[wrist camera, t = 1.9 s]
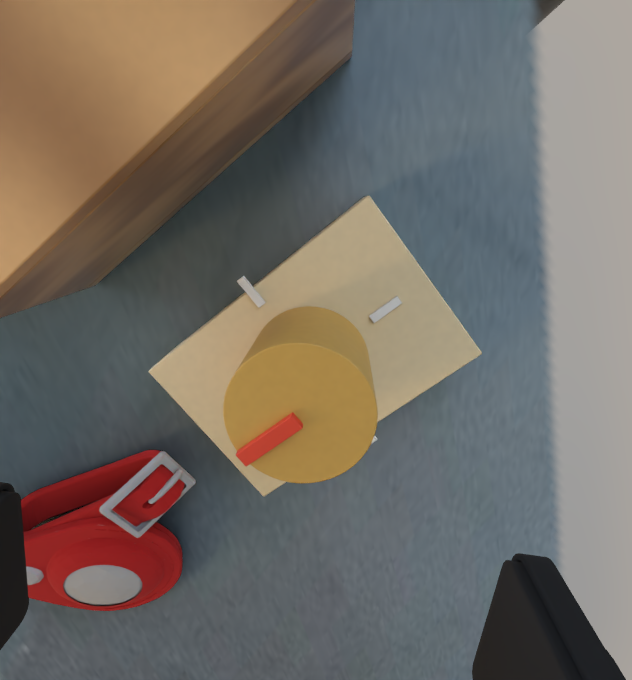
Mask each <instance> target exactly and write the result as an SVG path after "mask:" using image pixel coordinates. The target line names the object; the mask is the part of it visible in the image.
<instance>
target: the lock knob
mask: <svg viewBox="0 0 632 680" xmlns="http://www.w3.org/2000/svg"><path fill="white" fill-rule="evenodd" d="M223 417H224V424H225V427H226V431H227V434H228V436H229V438H230V440H231V442H232V444H233V446H234V447H235V449H236V450H237V453H236V456H237V457H238V459H239V460H240V461H241V462H242V463H243V464H244V465H245V466H248V465H251V466H253V467H254V468H255V469H257V470H258V471H260V472H262V473H264V474H266V475H268V476H270V477H272V478H275V479H278V480H281V481H286V482H291V483H315V482H321V481H325V480H328V479H331V478H334V477H336V476H338V475H340V474H342V473H344V472H346V471H347V470H349V469H350V468H351V467H353V466H354V465H355V464H356V463H357V462H358V461H359V460H360V459H361V458H362V457H363V455H364V454H365V453H366V452H367V450H368V448H369V447H370V445H371V443H372V440H373V438H374V436H375V432H376V428H377V420H378V411H377V403H376V397H375V391H374V384H373V378H372V372H371V366H370V360H369V354H368V349H367V346H366V343H365V341H364V339H363V337H362V335H361V334H360V332H359V331H358V329H357V328H356V327H355V326H354V325H353V324H352V323H351V322H350V321H349V320H347V319H346V318H345V317H343V316H342V315H340V314H338V313H336V312H334V311H331V310H328V309H325V308H320V307H311V306H307V307H298V308H293V309H290V310H287V311H285V312H283V313H281V314H279V315H277V316H276V317H274V318H273V319H272V320H271V321H270V322H268V323H267V324H266V326H265V327H264V328H263V329H262V331H261V332H260V334H259V335H258V337H257V338H256V340H255V342H254V343H253V345H252V346H251V348H250V350H249V351H248V353H247V354H246V356H245V358H244V359H243V361H242V362H241V364H240V365H239V367H238V369H237V370H236V372H235V373H234V375H233V377H232V378H231V380H230V382H229V384H228V387H227V389H226V393H225V396H224V403H223Z"/></svg>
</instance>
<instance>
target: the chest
mask: <svg viewBox="0 0 632 680" xmlns="http://www.w3.org/2000/svg"><path fill="white" fill-rule="evenodd" d="M354 11H355V0H313V1H312V2H311V3H309V4H308V5H307V6H306V7H305V8H304V9H303V10H302V11H301V12H300V13H299V14H298V15H297V16H296V17H295V18H294V19H293V20H292V21H291V22H289V23H288V24H287V25H286V26H285V27H284V28H283V29H282V30H281V31H280V32H279V33H278V34H277V35H276V36H275V37H274V38H273V39H272V40H271V41H269V42H268V43H267V44H266V45H265V46H264V47H263V48H262V49H261V50H260V51H259V52H258V53H257V54H256V55H255V56H254V57H253V58H252V59H251V60H250V61H248V62H247V63H246V64H245V65H244V66H243V67H242V68H241V69H240V70H239V71H238V72H237V73H236V74H235V75H234V76H233V77H232V78H231V79H230V80H228V81H227V82H226V83H225V84H224V85H223V86H222V87H221V88H220V89H219V90H218V91H217V92H216V93H215V94H214V95H213V96H212V97H211V98H210V99H208V100H207V101H206V102H205V103H204V104H203V105H202V106H201V107H200V108H199V109H198V110H197V111H196V112H195V113H194V114H193V115H192V116H191V117H190V118H188V119H187V120H186V121H185V122H184V123H183V124H182V125H181V126H180V127H179V128H178V129H177V130H176V131H175V132H174V133H173V134H172V135H171V136H170V137H168V138H167V139H166V140H165V141H164V142H163V143H162V144H161V145H160V146H159V147H158V148H157V149H156V150H155V151H154V152H153V153H152V154H151V155H150V156H148V157H147V158H146V159H145V160H144V161H143V162H142V163H141V164H140V165H139V166H138V167H137V168H136V169H135V170H134V171H133V172H132V173H131V174H130V175H128V176H127V177H126V178H125V179H124V180H123V181H122V182H121V183H120V184H119V185H118V186H117V187H116V188H115V189H114V190H113V191H112V192H111V193H110V194H109V195H107V196H106V197H105V198H104V199H103V200H102V201H101V202H100V203H99V204H98V205H97V206H96V207H95V208H94V209H93V210H92V211H91V212H90V213H89V214H87V215H86V216H85V217H84V218H83V219H82V220H81V221H80V222H79V223H78V224H77V225H76V226H75V227H74V228H73V229H72V230H71V231H70V232H69V233H67V234H66V235H65V236H64V237H63V238H62V239H61V240H60V241H59V242H58V243H57V244H56V245H55V246H54V247H53V248H52V249H51V250H50V251H49V252H47V253H46V254H45V255H44V256H43V257H42V258H41V259H40V260H39V261H38V262H37V263H36V264H35V265H34V266H33V267H32V268H31V269H30V270H29V271H27V272H26V273H25V274H24V275H23V276H22V277H21V278H20V279H19V280H18V281H17V282H16V283H15V284H14V285H13V286H12V287H11V288H10V289H9V290H7V291H6V292H5V293H4V294H3V295H2V296H1V297H0V318H2V317H5V316H8V315H11V314H14V313H16V312H19V311H22V310H25V309H28V308H31V307H34V306H37V305H40V304H43V303H46V302H49V301H51V300H54V299H57V298H60V297H63V296H66V295H69V294H72V293H75V292H78V291H81V290H84V289H86V288H90V287H93V286H95V285H96V284H98V283H99V282H100V281H101V280H102V279H103V278H104V277H105V276H106V275H108V274H109V273H110V272H111V271H112V270H113V269H114V268H115V267H117V266H118V265H119V264H120V263H121V262H122V261H123V260H124V259H126V258H127V257H128V256H129V255H130V254H131V253H132V252H133V251H135V250H136V249H137V248H138V247H139V246H140V245H141V244H142V243H143V242H145V241H146V240H147V239H148V238H149V237H150V236H151V235H152V234H154V233H155V232H156V231H157V230H158V229H159V228H160V227H161V226H163V225H164V224H165V223H166V222H167V221H168V220H169V219H170V218H171V217H173V216H174V215H175V214H176V213H177V212H178V211H179V210H180V209H182V208H183V207H184V206H185V205H186V204H187V203H188V202H189V201H191V200H192V199H193V198H194V197H195V196H196V195H197V194H198V193H199V192H201V191H202V190H203V189H204V188H205V187H206V186H207V185H208V184H210V183H211V182H212V181H213V180H214V179H215V178H216V177H217V176H219V175H220V174H221V173H222V172H223V171H224V170H225V169H226V168H228V167H229V166H230V165H231V164H232V163H233V162H234V161H235V160H236V159H238V158H239V157H240V156H241V155H242V154H243V153H244V152H245V151H247V150H248V149H249V148H250V147H251V146H252V145H253V144H254V143H256V142H257V141H258V140H259V139H260V138H261V137H262V136H263V135H264V134H266V133H267V132H268V131H269V130H270V129H271V128H272V127H273V126H275V125H276V124H277V123H278V122H279V121H280V120H281V119H282V118H284V117H285V116H286V115H287V114H288V113H289V112H290V111H291V110H293V109H294V108H295V107H296V106H297V105H298V104H299V103H300V102H301V101H303V100H304V99H305V98H306V97H307V96H308V95H309V94H310V93H312V92H313V91H314V90H315V89H316V88H317V87H318V86H319V85H321V84H322V83H323V82H324V81H325V80H326V79H327V78H328V77H329V76H331V75H332V74H333V73H334V72H335V71H336V70H337V69H338V68H340V67H341V66H342V65H343V64H344V63H345V62H346V61H347V60H349V59H350V58H351V57H352V45H353V28H354Z"/></svg>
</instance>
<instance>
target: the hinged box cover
mask: <svg viewBox="0 0 632 680" xmlns="http://www.w3.org/2000/svg"><path fill="white" fill-rule="evenodd" d="M312 1H313V0H0V297H1V296H2V295H3V294H4V293H5V292H6V291H7V290H9V289H10V288H11V287H12V286H13V285H14V284H15V283H16V282H17V281H18V280H19V279H20V278H21V277H22V276H23V275H24V274H25V273H26V272H27V271H29V270H30V269H31V268H32V267H33V266H34V265H35V264H36V263H37V262H38V261H39V260H40V259H41V258H42V257H43V256H44V255H45V254H46V253H47V252H49V251H50V250H51V249H52V248H53V247H54V246H55V245H56V244H57V243H58V242H59V241H60V240H61V239H62V238H63V237H64V236H65V235H66V234H67V233H69V232H70V231H71V230H72V229H73V228H74V227H75V226H76V225H77V224H78V223H79V222H80V221H81V220H82V219H83V218H84V217H85V216H86V215H87V214H89V213H90V212H91V211H92V210H93V209H94V208H95V207H96V206H97V205H98V204H99V203H100V202H101V201H102V200H103V199H104V198H105V197H106V196H107V195H109V194H110V193H111V192H112V191H113V190H114V189H115V188H116V187H117V186H118V185H119V184H120V183H121V182H122V181H123V180H124V179H125V178H126V177H127V176H128V175H130V174H131V173H132V172H133V171H134V170H135V169H136V168H137V167H138V166H139V165H140V164H141V163H142V162H143V161H144V160H145V159H146V158H147V157H148V156H150V155H151V154H152V153H153V152H154V151H155V150H156V149H157V148H158V147H159V146H160V145H161V144H162V143H163V142H164V141H165V140H166V139H167V138H168V137H170V136H171V135H172V134H173V133H174V132H175V131H176V130H177V129H178V128H179V127H180V126H181V125H182V124H183V123H184V122H185V121H186V120H187V119H188V118H190V117H191V116H192V115H193V114H194V113H195V112H196V111H197V110H198V109H199V108H200V107H201V106H202V105H203V104H204V103H205V102H206V101H207V100H208V99H210V98H211V97H212V96H213V95H214V94H215V93H216V92H217V91H218V90H219V89H220V88H221V87H222V86H223V85H224V84H225V83H226V82H227V81H228V80H230V79H231V78H232V77H233V76H234V75H235V74H236V73H237V72H238V71H239V70H240V69H241V68H242V67H243V66H244V65H245V64H246V63H247V62H248V61H250V60H251V59H252V58H253V57H254V56H255V55H256V54H257V53H258V52H259V51H260V50H261V49H262V48H263V47H264V46H265V45H266V44H267V43H268V42H269V41H271V40H272V39H273V38H274V37H275V36H276V35H277V34H278V33H279V32H280V31H281V30H282V29H283V28H284V27H285V26H286V25H287V24H288V23H289V22H291V21H292V20H293V19H294V18H295V17H296V16H297V15H298V14H299V13H300V12H301V11H302V10H303V9H304V8H305V7H306V6H307V5H308V4H309V3H311V2H312Z"/></svg>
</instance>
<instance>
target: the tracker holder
mask: <svg viewBox="0 0 632 680" xmlns="http://www.w3.org/2000/svg"><path fill="white" fill-rule="evenodd" d="M195 482H196V480H195V479H194V478H193V477H192V476H191V475H190V474H189V473H188V472H187V471H186V470H185V469H184V468H182V467H181V466H180V465H179V464H178V463H177V462H176V461H175V460H174V459H173V458H172V457H170V456H169V455H168V454H167V453H166V452H165V451H159V450H147V451H143V452H141V453H138V454H135V455H132V456H129V457H127V458H124V459H122V460H119V461H116V462H114V463H111V464H108V465H105V466H103V467H100V468H97V469H94V470H91V471H89V472H86V473H83V474H80V475H77V476H74V477H72V478H69V479H66V480H63V481H60V482H58V483H55V484H52V485H49V486H46V487H43V488H41V489H38V490H36V491H34V492H32V493H30V494H29V495H27V496H26V497H24V498H23V499H22V500H21V507H22V520H23V533H24V546H25V558H26V571H27V584H28V597H29V598H32V599H36V600H40V601H45V602H49V603H53V604H58V605H63V606H68V607H74V608H80V609H87V610H99V611H113V610H121V609H128V608H132V607H137V606H140V605H142V604H145V603H148V602H150V601H153V600H155V599H157V598H159V597H160V596H162V595H163V594H165V593H166V592H168V591H169V590H170V589H171V588H172V587H173V586H174V585H175V583H176V582H177V581H178V579H179V577H180V575H181V571H182V562H183V559H182V548H181V546H180V544H179V541H178V540H177V538H176V537H175V536H174V534H172V533H171V532H170V531H169V530H168V529H167V528H165V527H164V526H162V525H161V524H159V523H157V522H156V521H157V520H158V519H159V518H160V517H161V516H162V515H163V514H164V513H166V512H167V511H168V510H169V509H170V508H171V507H172V506H173V505H174V504H175V503H176V502H177V501H178V500H179V499H180V498H181V497H182V496H183V495H184V494H185V493H186V492H187V491H188V490H189V489H190V488H191V487H192V486H193V485H194V484H195ZM97 500H98V501H97ZM95 501H96V502H95ZM92 502H93V503H92ZM89 503H91V504H89ZM86 504H89V505H87V506H84V505H86ZM81 506H84V507H82V508H80V509H77V510H75V511H73V512H71V513H68V514H66V515H64V516H62V517H59V518H57V519H55V520H52V521H50V522H48V523H46V524H43V525H41V526H39V527H37V528H34V529H32V528H33V527H35V526H36V525H37V524H39V523H41V522H43V521H45V520H46V519H48V518H51V517H54V516H57V515H59V514H62V513H65V512H67V511H70V510H73V509H76V508H78V507H81ZM31 529H32V530H31Z"/></svg>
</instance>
